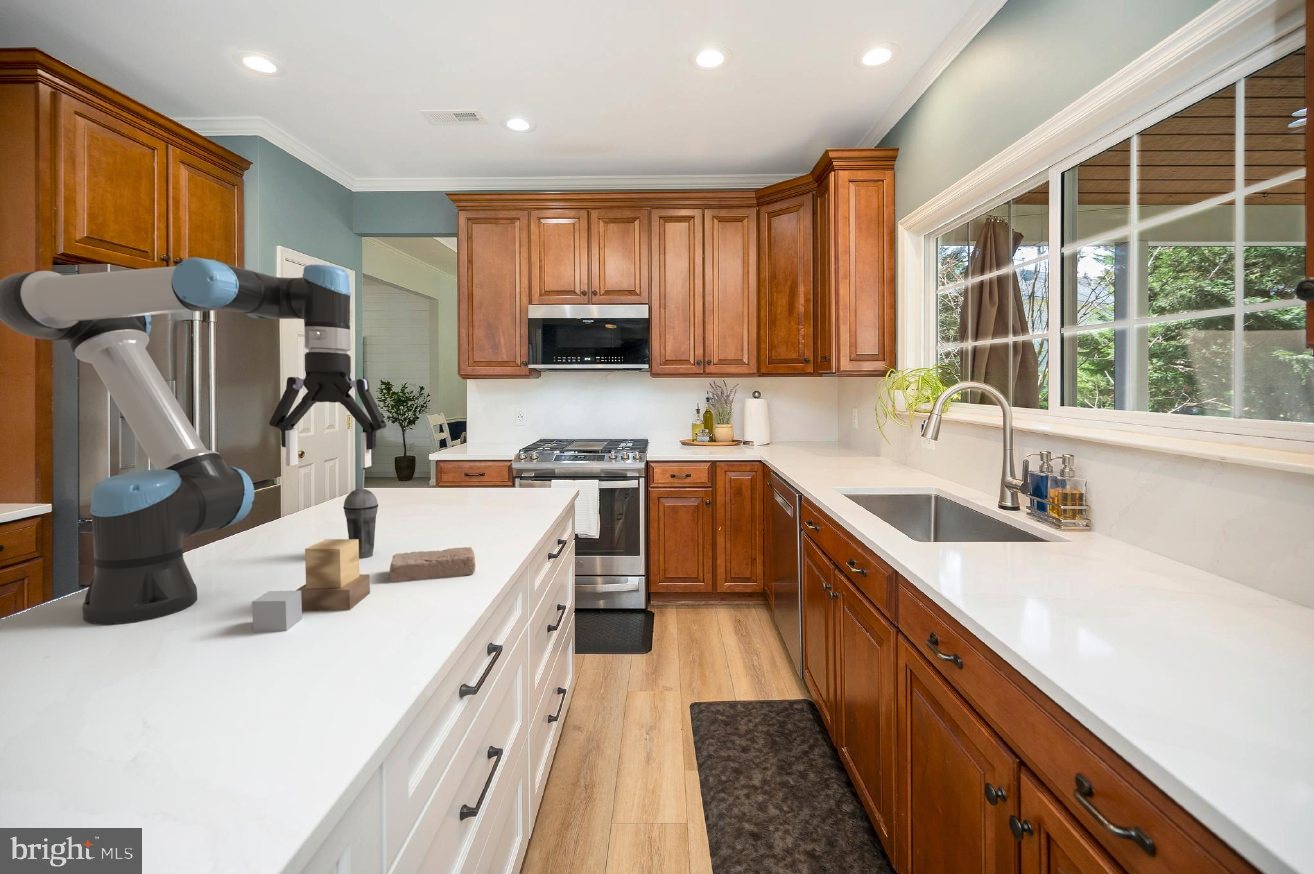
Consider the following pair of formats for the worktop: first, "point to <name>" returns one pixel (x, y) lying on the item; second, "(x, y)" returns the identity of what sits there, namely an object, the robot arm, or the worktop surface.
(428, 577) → the brick
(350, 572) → the oak block
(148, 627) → the worktop surface
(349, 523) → the beverage cup
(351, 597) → the walnut block
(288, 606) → the grey block
